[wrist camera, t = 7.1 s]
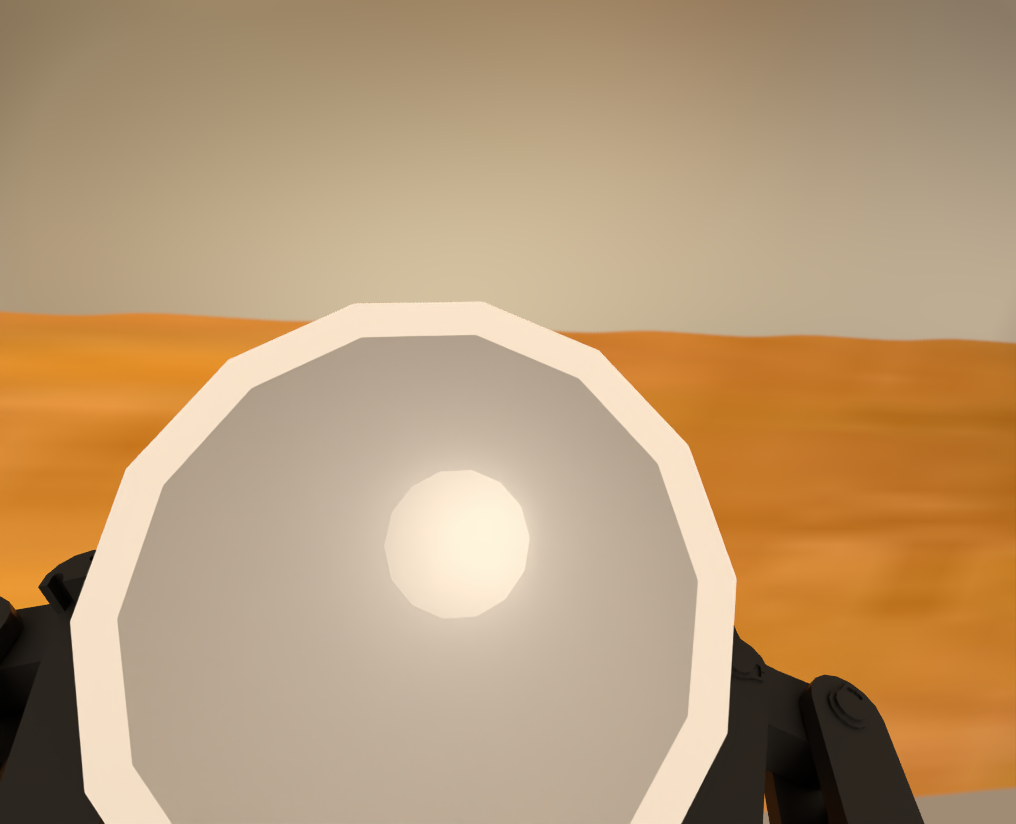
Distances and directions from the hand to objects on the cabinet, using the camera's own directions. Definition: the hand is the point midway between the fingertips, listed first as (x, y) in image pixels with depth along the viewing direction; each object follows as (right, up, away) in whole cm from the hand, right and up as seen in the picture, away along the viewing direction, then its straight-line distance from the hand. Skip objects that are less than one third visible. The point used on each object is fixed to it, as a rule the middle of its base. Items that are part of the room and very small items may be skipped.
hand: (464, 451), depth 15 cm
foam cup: (-1, -4, +4) cm, 6 cm away
